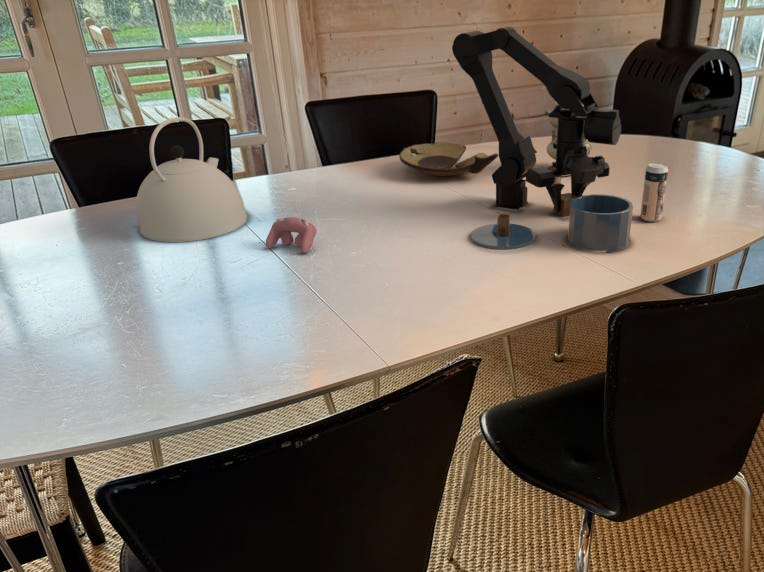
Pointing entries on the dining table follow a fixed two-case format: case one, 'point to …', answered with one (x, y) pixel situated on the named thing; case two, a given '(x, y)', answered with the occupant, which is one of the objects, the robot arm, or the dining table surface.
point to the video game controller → (283, 231)
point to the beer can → (654, 192)
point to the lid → (503, 234)
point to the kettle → (187, 197)
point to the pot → (600, 222)
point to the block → (565, 204)
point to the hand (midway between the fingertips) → (565, 210)
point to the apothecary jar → (550, 149)
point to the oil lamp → (443, 159)
